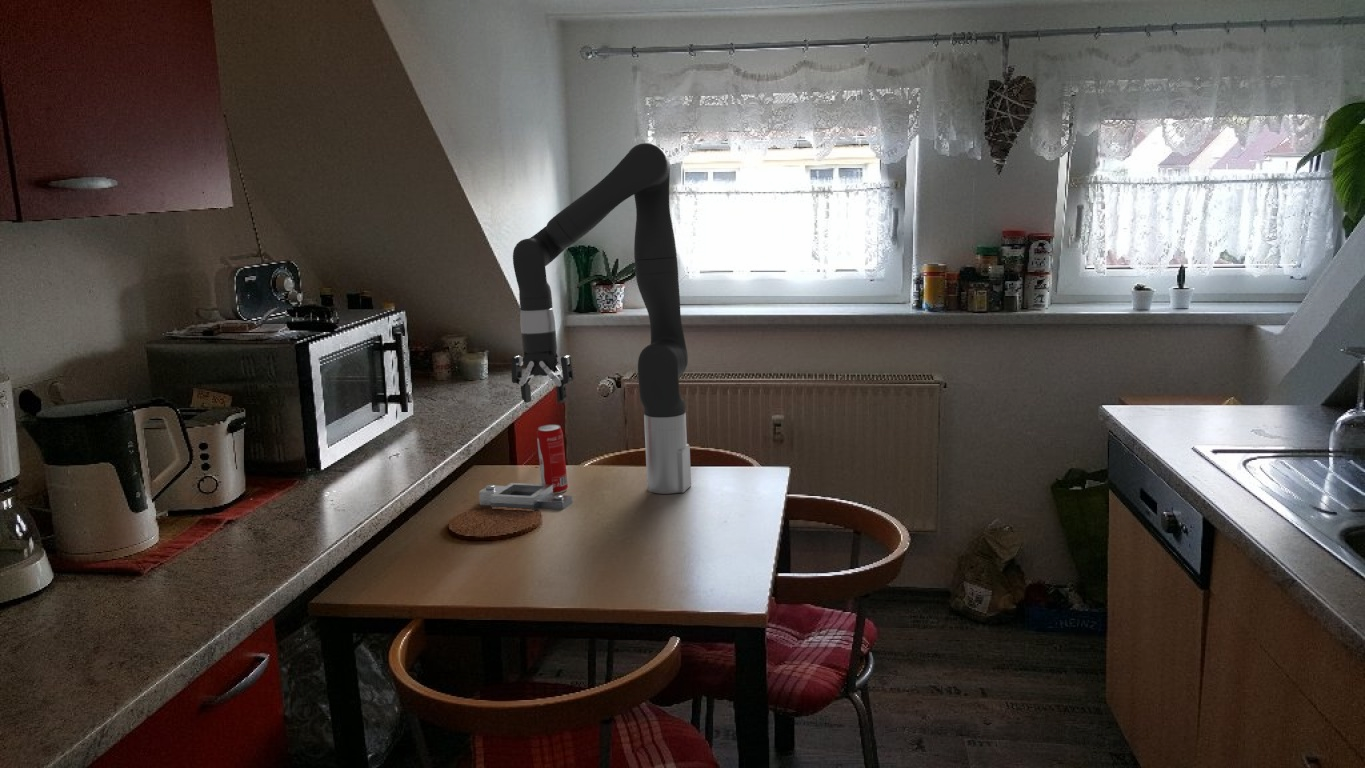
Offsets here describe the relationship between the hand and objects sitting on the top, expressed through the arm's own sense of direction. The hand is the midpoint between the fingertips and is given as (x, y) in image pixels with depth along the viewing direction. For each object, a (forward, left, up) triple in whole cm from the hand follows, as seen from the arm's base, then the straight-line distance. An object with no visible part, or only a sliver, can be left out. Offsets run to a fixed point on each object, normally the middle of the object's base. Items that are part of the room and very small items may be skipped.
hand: (544, 402), depth 217 cm
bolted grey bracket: (+2, +10, -20) cm, 23 cm away
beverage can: (-1, 0, -21) cm, 21 cm away
